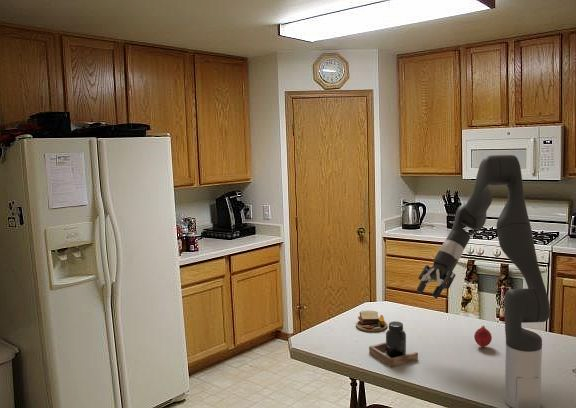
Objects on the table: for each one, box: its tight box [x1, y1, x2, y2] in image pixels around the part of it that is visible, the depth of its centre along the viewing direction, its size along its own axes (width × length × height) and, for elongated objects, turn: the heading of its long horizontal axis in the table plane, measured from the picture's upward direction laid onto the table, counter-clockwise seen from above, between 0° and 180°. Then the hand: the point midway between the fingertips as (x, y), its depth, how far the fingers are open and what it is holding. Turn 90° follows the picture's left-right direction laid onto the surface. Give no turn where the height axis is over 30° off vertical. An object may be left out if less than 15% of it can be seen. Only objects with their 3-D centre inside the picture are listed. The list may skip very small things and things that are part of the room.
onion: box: [473, 324, 493, 348], centre depth 187 cm, size 6×6×8 cm
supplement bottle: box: [385, 321, 407, 358], centre depth 182 cm, size 7×7×12 cm
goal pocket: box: [368, 341, 419, 368], centre depth 183 cm, size 11×13×2 cm
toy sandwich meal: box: [355, 310, 388, 333], centre depth 212 cm, size 12×14×5 cm
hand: (426, 294), depth 183 cm, fingers open, 8 cm apart
